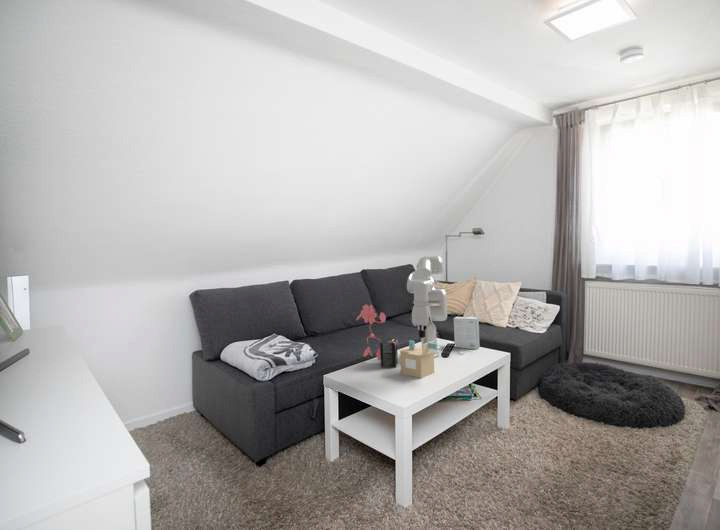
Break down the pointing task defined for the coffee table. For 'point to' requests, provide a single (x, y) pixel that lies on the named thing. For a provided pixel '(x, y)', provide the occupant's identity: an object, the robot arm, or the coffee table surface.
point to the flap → (429, 348)
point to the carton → (416, 361)
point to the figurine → (369, 317)
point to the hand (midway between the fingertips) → (422, 337)
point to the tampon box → (388, 353)
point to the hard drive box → (466, 332)
